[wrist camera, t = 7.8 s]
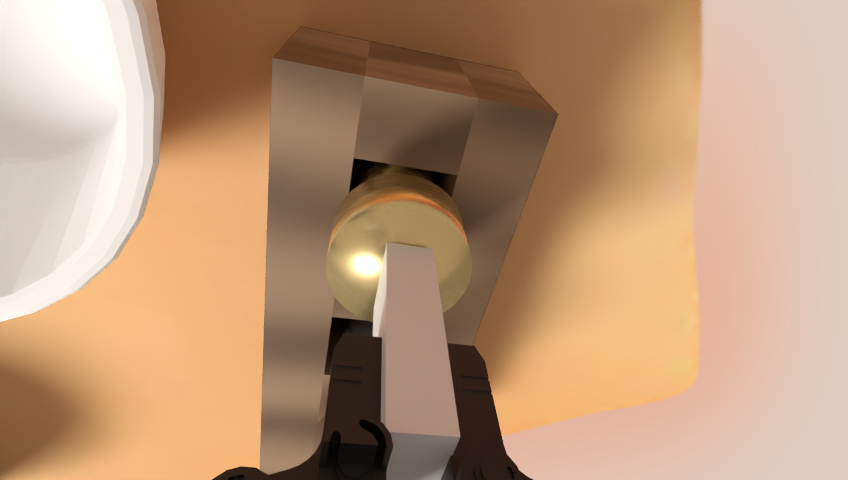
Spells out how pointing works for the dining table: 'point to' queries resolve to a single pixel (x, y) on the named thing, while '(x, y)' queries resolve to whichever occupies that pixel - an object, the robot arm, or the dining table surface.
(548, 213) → the dining table surface
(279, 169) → the mount
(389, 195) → the knob
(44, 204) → the bowl
